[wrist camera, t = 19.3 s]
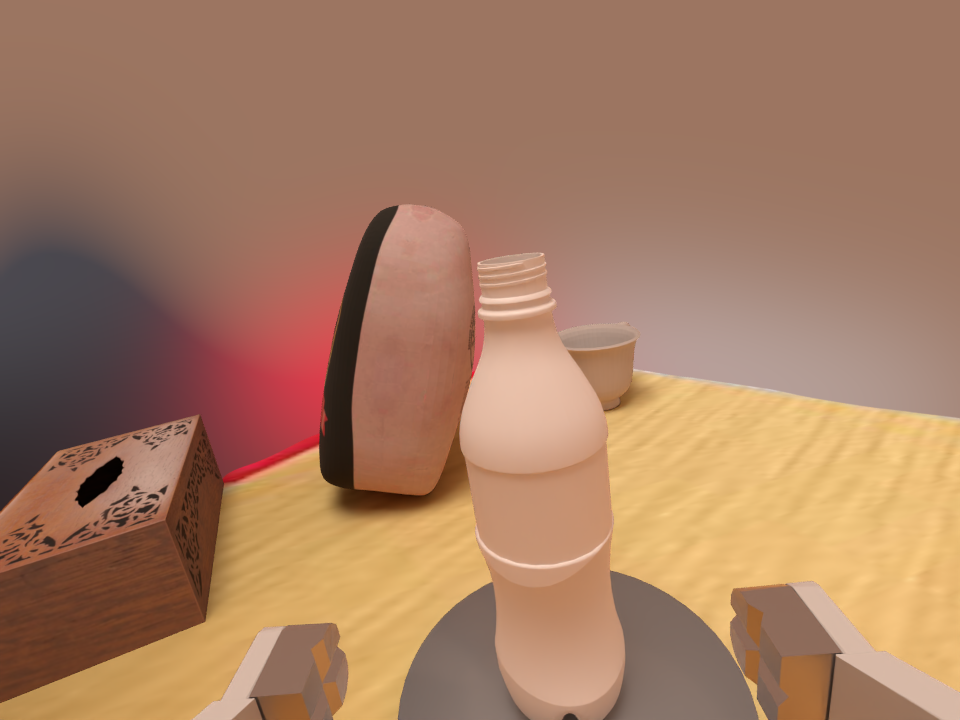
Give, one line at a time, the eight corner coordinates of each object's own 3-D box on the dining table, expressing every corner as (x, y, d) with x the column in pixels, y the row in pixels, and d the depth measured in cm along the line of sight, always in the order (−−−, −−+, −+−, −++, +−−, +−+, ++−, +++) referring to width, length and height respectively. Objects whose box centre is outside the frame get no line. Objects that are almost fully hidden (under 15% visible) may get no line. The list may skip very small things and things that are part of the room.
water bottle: (488, 659, 31) (417, 267, 24) (589, 621, 33) (551, 243, 26) (530, 775, 25) (449, 281, 17) (654, 720, 26) (628, 247, 19)
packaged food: (353, 441, 69) (299, 223, 60) (490, 418, 70) (456, 199, 61) (318, 539, 48) (227, 227, 40) (514, 504, 49) (468, 190, 40)
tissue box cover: (206, 624, 40) (165, 519, 37) (-17, 712, 35) (-84, 600, 32) (224, 485, 63) (200, 414, 60) (91, 526, 58) (57, 451, 55)
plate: (326, 825, 25) (320, 808, 25) (482, 559, 42) (480, 547, 42) (787, 1062, 16) (789, 1042, 16) (748, 608, 34) (748, 593, 33)
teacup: (669, 388, 71) (667, 320, 68) (614, 428, 61) (608, 352, 58) (597, 376, 79) (592, 316, 76) (539, 410, 70) (531, 343, 67)
